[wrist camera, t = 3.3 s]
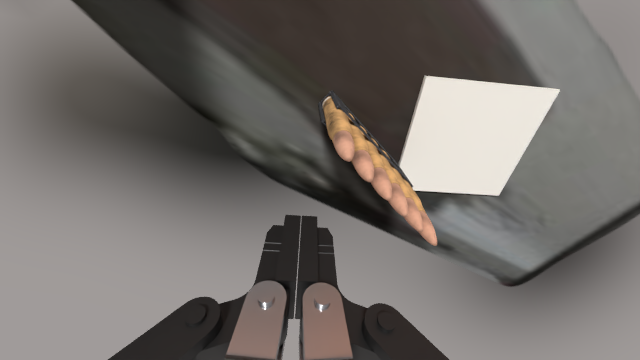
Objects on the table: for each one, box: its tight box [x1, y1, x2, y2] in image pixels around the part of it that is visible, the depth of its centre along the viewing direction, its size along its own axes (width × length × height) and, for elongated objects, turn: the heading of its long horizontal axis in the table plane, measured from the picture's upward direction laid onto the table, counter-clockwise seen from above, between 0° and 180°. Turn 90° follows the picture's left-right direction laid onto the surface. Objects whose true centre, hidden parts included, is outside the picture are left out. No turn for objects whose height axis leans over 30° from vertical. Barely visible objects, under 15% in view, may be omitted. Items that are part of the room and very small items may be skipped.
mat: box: [398, 76, 560, 196], centre depth 25 cm, size 13×12×1 cm
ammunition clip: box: [318, 91, 437, 246], centre depth 19 cm, size 11×2×12 cm, turn 44°
